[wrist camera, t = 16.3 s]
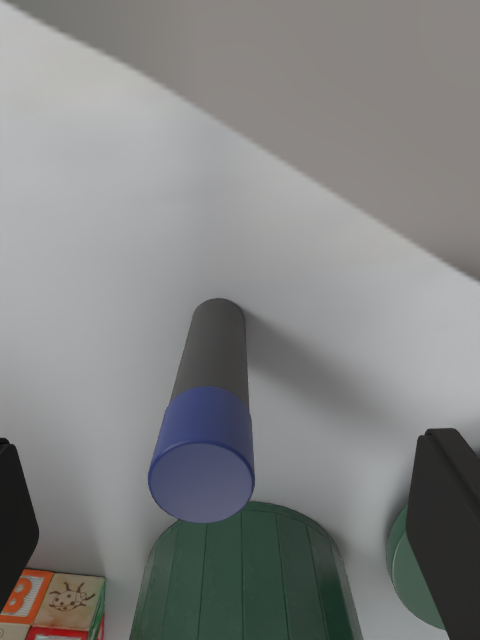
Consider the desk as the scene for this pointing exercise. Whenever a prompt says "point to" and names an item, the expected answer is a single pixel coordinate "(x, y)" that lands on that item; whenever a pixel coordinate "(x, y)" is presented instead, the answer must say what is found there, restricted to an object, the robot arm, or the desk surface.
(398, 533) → the lid
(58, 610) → the stack of blocks
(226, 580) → the green hollow cylinder
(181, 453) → the cylinder
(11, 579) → the robot arm
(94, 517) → the desk surface
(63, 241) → the desk surface
